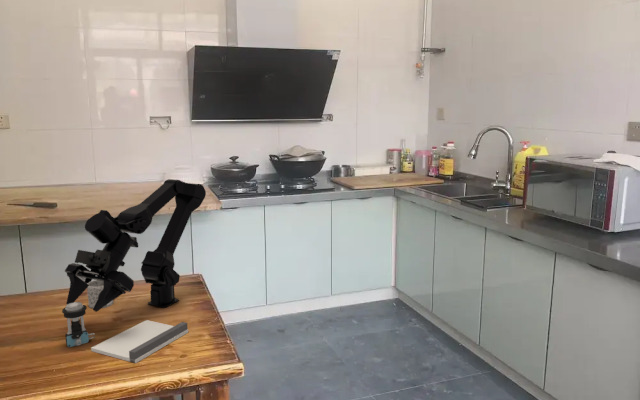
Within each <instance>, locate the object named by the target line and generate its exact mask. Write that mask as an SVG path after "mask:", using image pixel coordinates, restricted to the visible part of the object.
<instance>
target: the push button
mask: <svg viewBox="0 0 640 400" xmlns="http://www.w3.org/2000/svg"><path fill="white" fill-rule="evenodd" d="M86 310H87V305H86V304H83V303H82V302H81V301H75V302H73V303H69V304H66V305H65V307H64V308H62V310H61V313H62V314H63V317H64V318H66V321H67V332H66V334H65V335H64V336H65V344H66V346H67V347H68V348H71V347H75V346H78V347H79V346H81V345H84V344H86V343H87V344H88V343H89V340H91V339H94V338H96V337H95V333H94V332H91V333H88V331H87V328H86V327H85V320H84V316H85V315H86ZM93 335H94V336H93Z"/></svg>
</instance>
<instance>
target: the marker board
mask: <svg viewBox="0 0 640 400" xmlns="http://www.w3.org/2000/svg"><path fill="white" fill-rule="evenodd" d="M188 327H189V326H188V322H185V321H181V322H179V323H178V324H176V325H171V324H166V323H162V322H157V321H153V320H148V319H146V320H144V321H142V322H140V323H137V324H136V325H134V326H132V327H130V328H128V329H125V330H124V331H122V332H120V333H118V334H116V335H114V336H112V337H110V338H108V339H106V340H103V341H102V342H100V343H98V344H95V345H93V346H92V347H90V349H91V352H93V353H98V354H100V355H105V356H108V357H112V358H115V359H119V360H123V361H126V362H130V363H134V364H137V363H138V362H141V361H142V360H144V359H145V358H147V357H149V356H151V355H152V354H154V353H156V352H157V351H159V350H161V349H162V348H165V346H167V345H169V344H171V343H173V342H174V341H176V340H177V339H180V338H181V337H183V336H184V335H186V334H188V333H189V329H188Z"/></svg>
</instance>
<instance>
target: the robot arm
mask: <svg viewBox="0 0 640 400" xmlns="http://www.w3.org/2000/svg"><path fill="white" fill-rule="evenodd" d="M206 195H207V193H206V189H205V187H204V185H203V184H202V183H201V184H200V183H191V182H185V181H182V180H180V179H171V178H169V179H166V180H164V182H163V184H162V185H160V186H159V187H158V188H157V189H156V190H155V191H154V192H152V193H151V194H150V195H149V196H147V197H146V198H145V199H144V200H143V201H142V202H140V203H139V204H137V205H132V206H130V207H128V208H126V209H124V210H122V211H120V213H119V214H118V215H117V216H114V217H113V216H112V214H111V213H110V212H109V211H108V210H105V209H100V210H99V212H98V213H95V214H93V215H92V216H91V217H90V218H88V219H87V220H86V221H85V225H84V228H85V229H84V230H85V231H86V232H87V233H89V235H91V236H92V237H93V238H94V239H95V240H97V241H98V242H99V243H101V244H103V245H104V244H105V245H104V246H103V249H96V250H95V252H94V251H88V250H81V249H78V250H77V253H76V256H75V259H74V263H69V264H67V267H66V268H65V269H64V272H65V273H66V276H67V278H69V282H70V283H69V290H68V293H67V299H66V305H67V304H69V303H73V302H77V299H78V298H79V297H80V296H81V295H83V293H84V292H85V291H86V290H87V287H88V286H89V285H88V283H89V282H91V281H95V280H99V281H104V288H103V290H102V292H101V294H100V296H99V298H98V300H97V302H96V304H95V306H94V308H93V311H94V312H95V313H97V312H99V311H100V310H101V308H102V309H104V308H103V307H104V306H105V305H107V304H108V303H109V302H111V301H112V300H113V301H114V300H115V299H117V298H119V297H120V296H122V295H126V293H130V292H131V291H132V290H133V288H134V286H135V281H134V279H132V278H131V277H130V276H128V275H127V274H126V273H125V272H124V271H120V270H119V271H118V269H119V268H120V267H124V266H125V264H126V262H124V260H125V258H126V256H127V254H128V252H129V251H130V249H131V247H133V248H139V243H138V239H137V237H136V236H131V235H130V234H137V235H139V234H140V235H142V234H143V233H145V232H146V230H147V229H148V228H149V227H150V225H151V224H152V222H153V217H154V216H155V215H156V214H157V213H158V212H159V211H160V210H162V209H163V207H165V206H166V205H167V204H168V203H169V202H170V201H171V200H173V199H174V201H175V209H174V210H173V212H172V215H171V217H170V219H169V221H168V224H167V226H166V227H165V229H164V232H163V234H162V237H161V239H160V241H159V243H158V245H157V247H156V248H155V249H154V250H153V251H151V250H147V252H146V253H145V256H144V258H143V260H142V262H141V263H140V264H141V268H140V271H141V274H142V278H143V279H144V282H145V284H150V294H149V295H150V301H148V302H147V305H149V306H155V307H158V308H162V309H165V308H167V307H169V306H171V305H172V304H175V303H177V302H179V298H177V297H175V296H176V295H175V286H176V285H177V284H178V283H179V282H180V277H181V275H180V274H179V273H178V272H176V271H175V270H174V268H175V260H174V259H175V258H174V257H175V256H174V254H175V252H176V249H177V247H178V245H179V242H180V240H181V238H182V235H183V233H184V232H185V228H186V226H187V225H188V222H189V220H190V217H191V215H192V213H193V212H194V211H196V210H197V209H199V208H200V206H201V205H202V203H203V201H204V200H205V198H206ZM129 233H130V234H129ZM84 265H85V266H84Z"/></svg>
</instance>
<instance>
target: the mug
mask: <svg viewBox="0 0 640 400" xmlns="http://www.w3.org/2000/svg"><path fill="white" fill-rule="evenodd" d="M87 284H88V285H89V286H88V287H87V288H86V290H87V300H88V303H87V304H88V307H89V308H90V309H93V308H94V306H95V304H96V302H97V300H98V298H99V296H100V294H101V292H102V290H103V288H104V281H99V280H92V281H91V282H89V283H87ZM113 304H114V300H112V301H111V302H109V303H108V304H107V305H105V306H104V307H103V308H101V309H105V308H106V309H107V308H109V307H111V306H112V305H113ZM101 309H100V310H101Z"/></svg>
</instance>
